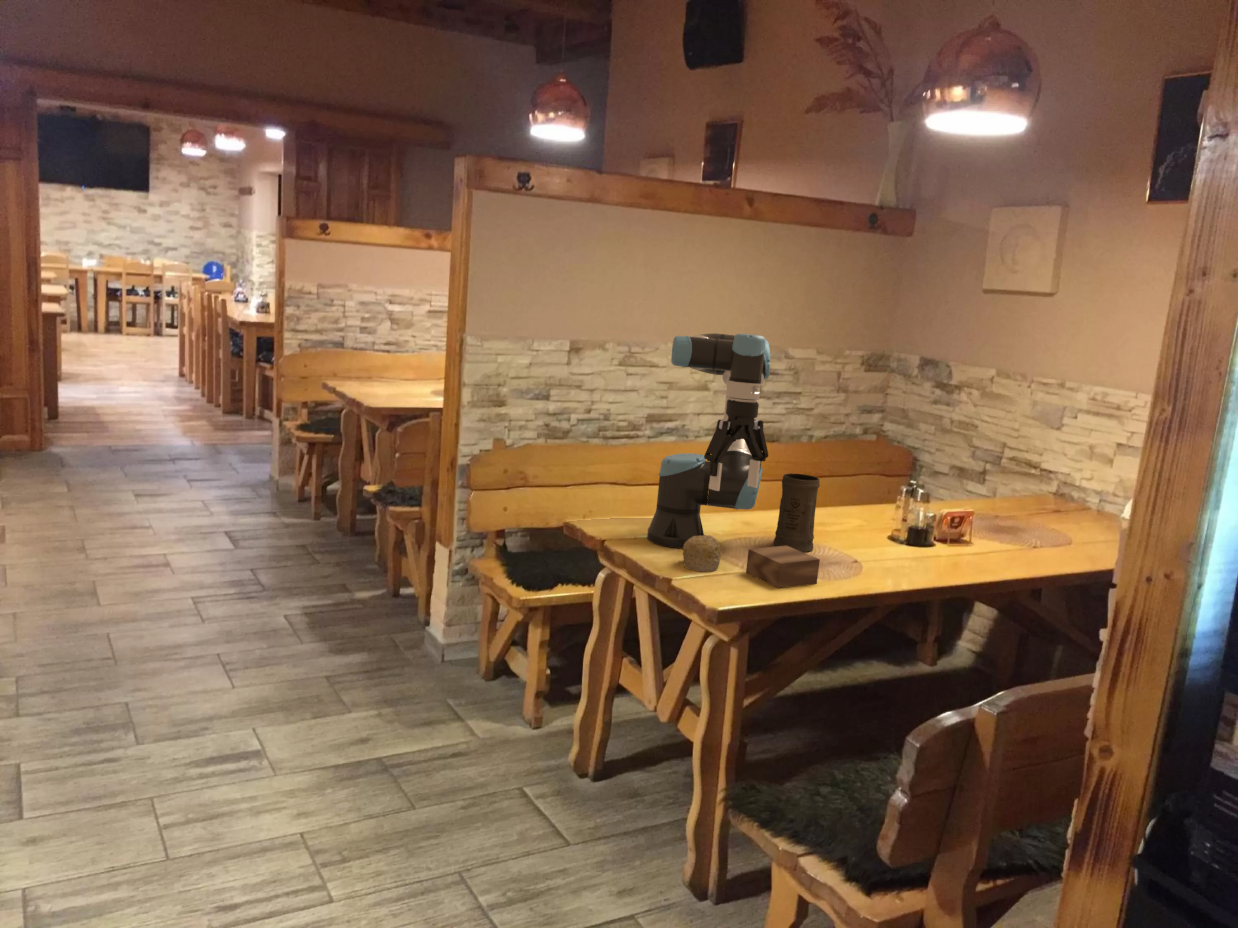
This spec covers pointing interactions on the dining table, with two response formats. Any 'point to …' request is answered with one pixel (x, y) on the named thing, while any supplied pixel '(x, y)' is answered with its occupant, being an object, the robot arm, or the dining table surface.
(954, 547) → the dining table surface
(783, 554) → the walnut block
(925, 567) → the dining table surface
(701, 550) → the brown cratered rock
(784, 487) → the beer stein
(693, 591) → the dining table surface
